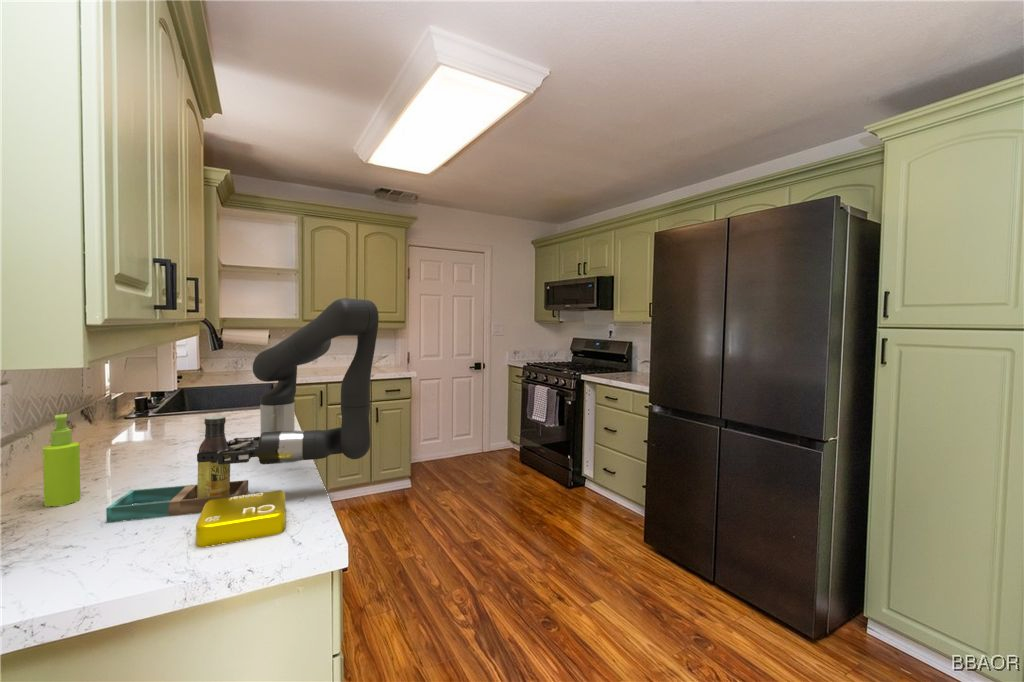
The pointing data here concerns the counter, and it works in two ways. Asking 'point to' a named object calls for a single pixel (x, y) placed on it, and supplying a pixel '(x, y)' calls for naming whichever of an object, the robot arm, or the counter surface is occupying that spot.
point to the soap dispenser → (61, 466)
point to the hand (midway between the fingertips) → (203, 452)
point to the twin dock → (165, 502)
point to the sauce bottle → (210, 473)
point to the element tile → (241, 518)
